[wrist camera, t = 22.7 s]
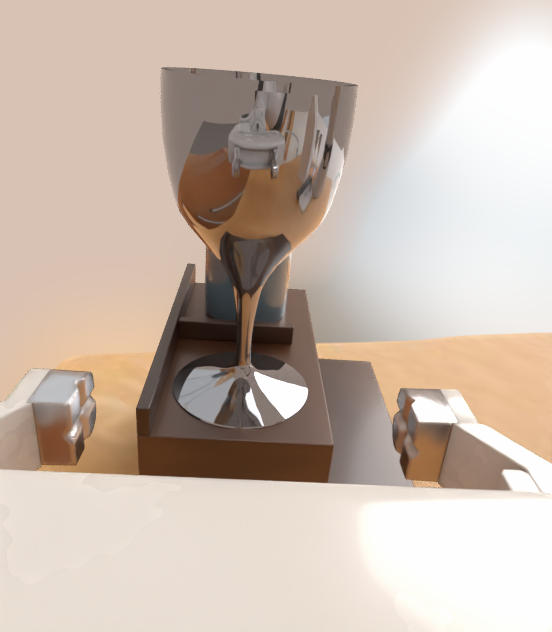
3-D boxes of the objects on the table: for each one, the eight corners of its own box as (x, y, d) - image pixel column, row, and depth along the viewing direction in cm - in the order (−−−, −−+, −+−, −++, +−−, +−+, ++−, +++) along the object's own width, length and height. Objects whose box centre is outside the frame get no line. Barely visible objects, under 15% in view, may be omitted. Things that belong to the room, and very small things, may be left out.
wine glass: (132, 381, 28) (118, 63, 21) (241, 335, 33) (258, 72, 26) (239, 458, 23) (264, 83, 16) (345, 390, 28) (395, 88, 22)
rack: (362, 401, 45) (386, 276, 40) (419, 594, 29) (469, 425, 24) (186, 391, 44) (187, 263, 39) (143, 584, 28) (135, 408, 23)
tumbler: (285, 294, 39) (297, 171, 35) (288, 330, 34) (303, 191, 30) (207, 289, 39) (210, 164, 35) (198, 324, 34) (201, 183, 30)
